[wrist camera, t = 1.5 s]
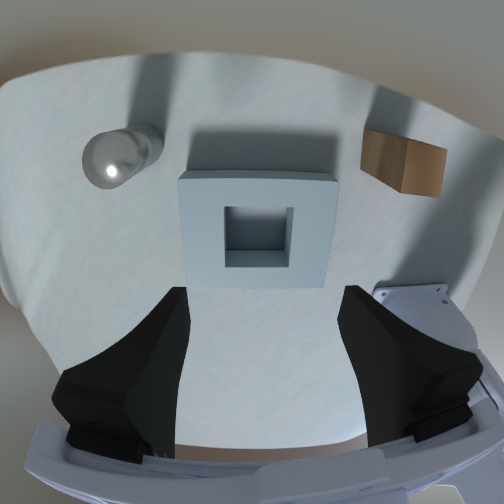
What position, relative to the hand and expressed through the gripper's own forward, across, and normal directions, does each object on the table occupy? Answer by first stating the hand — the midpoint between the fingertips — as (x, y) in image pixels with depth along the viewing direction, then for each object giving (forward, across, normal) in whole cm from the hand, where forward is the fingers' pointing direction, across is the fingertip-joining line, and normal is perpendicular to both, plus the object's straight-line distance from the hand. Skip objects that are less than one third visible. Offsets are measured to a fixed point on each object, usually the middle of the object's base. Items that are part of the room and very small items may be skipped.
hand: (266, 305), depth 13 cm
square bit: (+9, -9, -6) cm, 14 cm away
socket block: (+9, 0, 0) cm, 9 cm away
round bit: (+9, +8, -6) cm, 14 cm away
